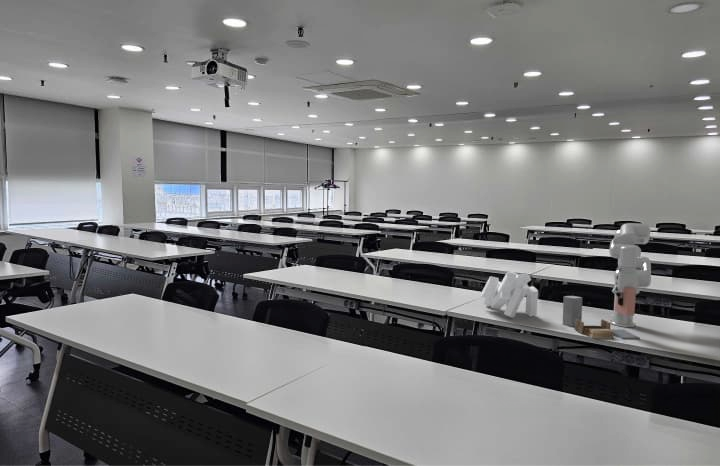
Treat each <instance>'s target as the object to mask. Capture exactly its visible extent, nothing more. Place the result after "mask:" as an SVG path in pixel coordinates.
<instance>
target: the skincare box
mask: <svg viewBox="0 0 720 466" xmlns="http://www.w3.org/2000/svg"><path fill="white" fill-rule="evenodd" d="M562 300H563V302H562V304H563V307H562V324H563V325H566V326H570V327H575V319H578V320H580V321H582V318H583V317H582V315H583V297H581V296H575V295H566V296H564V295H563V299H562Z"/></svg>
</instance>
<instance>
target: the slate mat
mask: <svg viewBox="0 0 720 466" xmlns="http://www.w3.org/2000/svg"><path fill="white" fill-rule="evenodd" d="M610 330H611V331H612V333H613V336H616V337H617V338H619V339H621V340H640V339H641V337H640V336H637V335H635V334H633V333H631V332H629V331H627V330H625V329H620V328H619V329H614V328H613V329H611V328H610Z"/></svg>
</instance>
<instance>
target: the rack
mask: <svg viewBox="0 0 720 466" xmlns="http://www.w3.org/2000/svg"><path fill="white" fill-rule="evenodd" d="M611 325H612V324H611V323H610V321H607V320H605V319H601V321H600V325H585V322H583V321H582V320H581V321H580V320H578V319H575V326H574V331H575V332H577V333H579V334H581V335H588V333H589V329H609V330H610V329H611Z"/></svg>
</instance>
